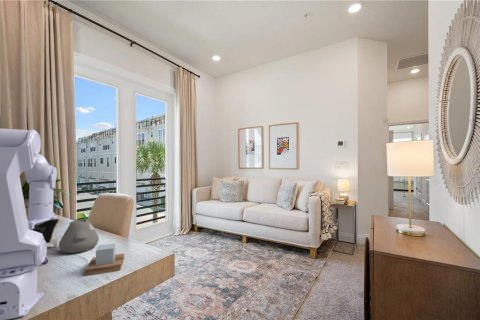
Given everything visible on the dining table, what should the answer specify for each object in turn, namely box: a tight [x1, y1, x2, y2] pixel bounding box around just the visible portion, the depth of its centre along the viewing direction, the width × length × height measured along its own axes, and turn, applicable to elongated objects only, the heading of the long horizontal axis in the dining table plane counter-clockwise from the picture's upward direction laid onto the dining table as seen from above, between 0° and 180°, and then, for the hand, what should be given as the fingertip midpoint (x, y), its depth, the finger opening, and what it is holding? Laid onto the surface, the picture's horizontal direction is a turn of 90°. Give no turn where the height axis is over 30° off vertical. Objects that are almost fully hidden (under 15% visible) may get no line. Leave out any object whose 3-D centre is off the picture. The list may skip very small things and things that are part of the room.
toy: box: [58, 212, 100, 254], centre depth 92 cm, size 15×14×15 cm
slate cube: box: [95, 243, 116, 266], centre depth 75 cm, size 5×5×5 cm
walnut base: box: [84, 253, 125, 277], centre depth 75 cm, size 10×10×2 cm
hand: (39, 246), depth 68 cm, fingers open, 7 cm apart
